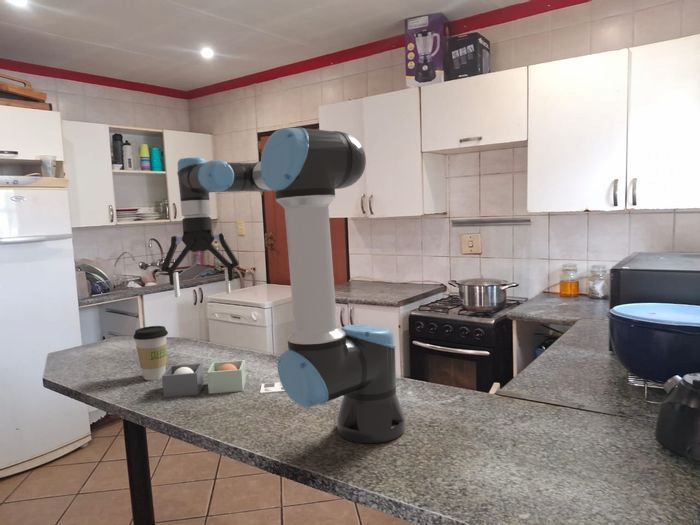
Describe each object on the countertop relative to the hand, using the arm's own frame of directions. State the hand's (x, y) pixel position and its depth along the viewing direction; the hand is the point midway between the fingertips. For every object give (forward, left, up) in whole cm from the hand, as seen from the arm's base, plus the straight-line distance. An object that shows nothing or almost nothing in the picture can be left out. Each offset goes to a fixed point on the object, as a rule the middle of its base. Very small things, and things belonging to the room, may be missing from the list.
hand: (203, 294), depth 138 cm
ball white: (+2, +7, -24) cm, 25 cm away
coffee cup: (+16, +20, -27) cm, 37 cm away
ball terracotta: (+2, -5, -24) cm, 24 cm away
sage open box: (+2, -4, -27) cm, 28 cm away
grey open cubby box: (+2, +8, -27) cm, 28 cm away
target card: (-2, -18, -27) cm, 33 cm away
